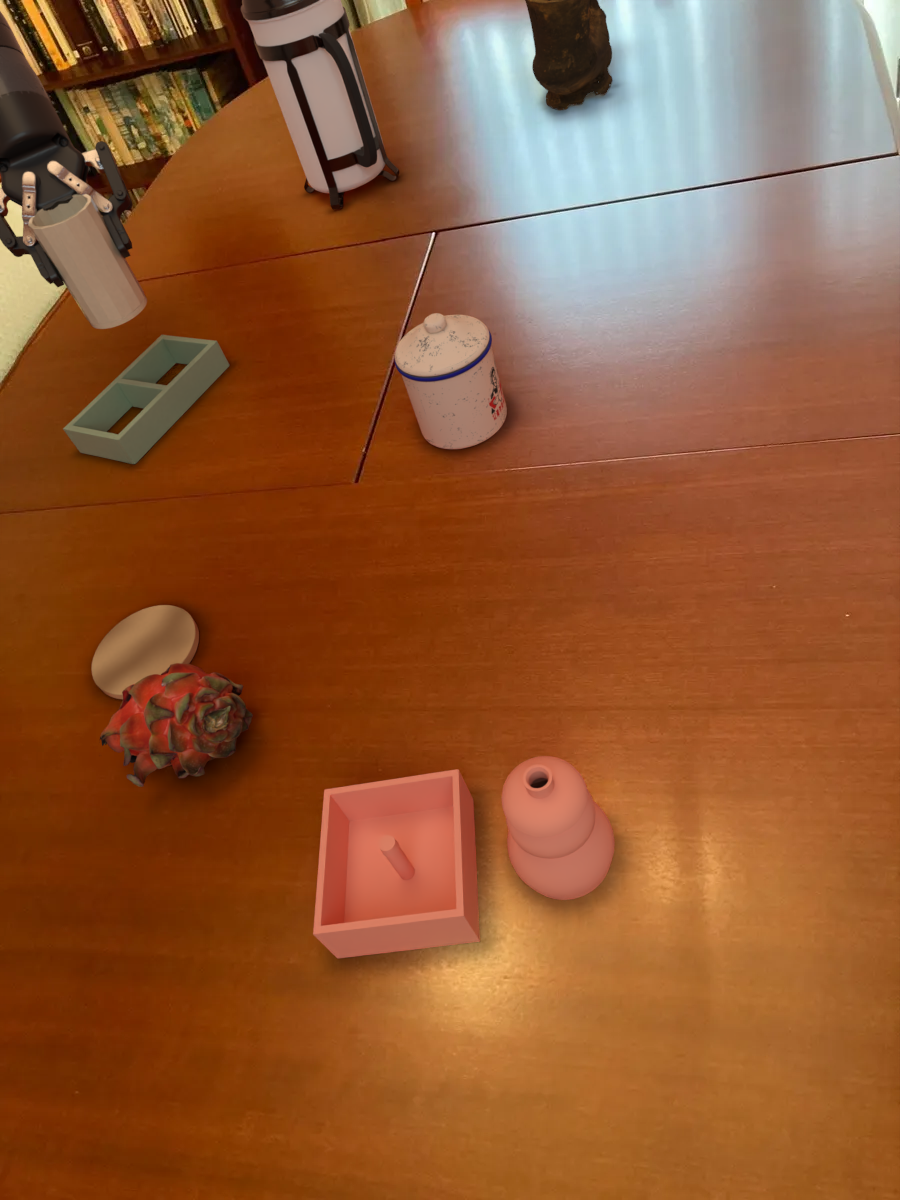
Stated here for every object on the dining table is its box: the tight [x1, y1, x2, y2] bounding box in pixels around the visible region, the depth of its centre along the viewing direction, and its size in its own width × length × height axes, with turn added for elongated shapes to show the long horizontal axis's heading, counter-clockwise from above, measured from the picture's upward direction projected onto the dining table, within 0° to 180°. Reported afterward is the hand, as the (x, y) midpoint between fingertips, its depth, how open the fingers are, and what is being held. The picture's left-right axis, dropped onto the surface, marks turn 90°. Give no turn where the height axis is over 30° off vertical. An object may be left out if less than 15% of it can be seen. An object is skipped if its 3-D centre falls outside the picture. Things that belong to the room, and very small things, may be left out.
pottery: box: [312, 755, 616, 959], centre depth 53 cm, size 18×10×10 cm, turn 91°
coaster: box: [91, 604, 200, 700], centre depth 76 cm, size 10×10×1 cm
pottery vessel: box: [524, 0, 613, 111], centre depth 123 cm, size 25×11×20 cm, turn 172°
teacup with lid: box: [394, 312, 508, 450], centre depth 83 cm, size 12×9×12 cm
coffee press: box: [240, 0, 400, 211], centre depth 117 cm, size 17×16×30 cm
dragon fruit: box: [98, 663, 254, 788], centre depth 66 cm, size 8×8×12 cm
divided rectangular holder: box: [62, 334, 231, 465], centre depth 101 cm, size 9×18×4 cm, turn 151°
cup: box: [28, 194, 148, 330], centre depth 88 cm, size 6×6×11 cm
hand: (92, 268), depth 87 cm, fingers closed on cup, 6 cm apart
